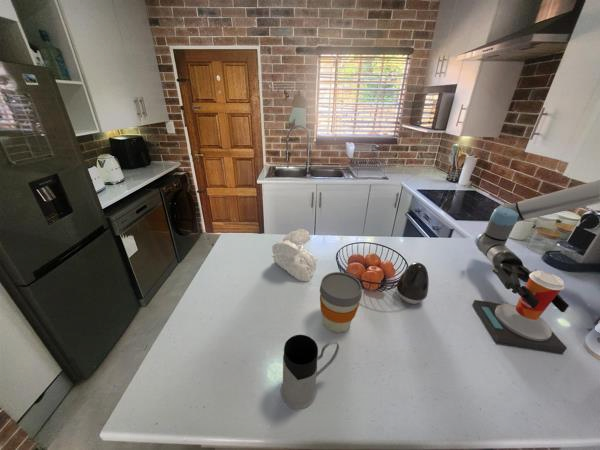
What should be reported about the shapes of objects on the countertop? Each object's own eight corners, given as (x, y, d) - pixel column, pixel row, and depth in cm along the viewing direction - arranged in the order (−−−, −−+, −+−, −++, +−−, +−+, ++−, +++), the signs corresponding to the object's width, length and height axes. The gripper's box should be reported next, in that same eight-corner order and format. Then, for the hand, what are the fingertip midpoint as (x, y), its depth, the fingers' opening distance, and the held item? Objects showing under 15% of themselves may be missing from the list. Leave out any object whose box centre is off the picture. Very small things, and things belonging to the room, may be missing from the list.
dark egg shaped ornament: (388, 292, 93) (396, 259, 86) (409, 285, 97) (418, 253, 90) (408, 311, 85) (419, 276, 78) (430, 303, 89) (443, 269, 82)
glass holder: (276, 379, 63) (275, 338, 56) (326, 360, 68) (331, 321, 61) (287, 415, 56) (288, 374, 49) (342, 392, 60) (350, 351, 54)
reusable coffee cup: (333, 343, 72) (338, 305, 66) (309, 315, 82) (312, 279, 75) (364, 326, 79) (372, 289, 72) (338, 301, 88) (343, 267, 81)
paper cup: (510, 300, 82) (529, 266, 76) (540, 311, 78) (563, 276, 72) (511, 314, 76) (532, 279, 70) (544, 327, 73) (569, 290, 66)
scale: (527, 312, 86) (532, 305, 85) (562, 353, 72) (569, 345, 71) (472, 305, 89) (475, 297, 87) (495, 343, 75) (500, 335, 73)
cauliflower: (320, 272, 88) (278, 235, 89) (291, 300, 98) (254, 267, 100) (334, 249, 104) (299, 218, 105) (308, 275, 114) (277, 247, 116)
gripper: (529, 272, 90) (582, 321, 70) (471, 265, 93) (506, 310, 72) (539, 255, 87) (598, 301, 66) (479, 248, 89) (517, 291, 69)
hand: (550, 306), depth 69 cm, fingers closed on paper cup, 7 cm apart
